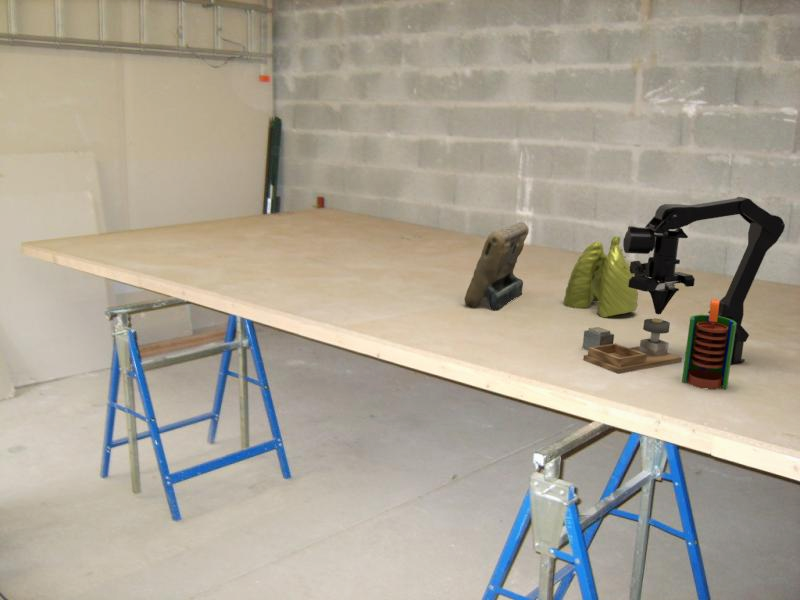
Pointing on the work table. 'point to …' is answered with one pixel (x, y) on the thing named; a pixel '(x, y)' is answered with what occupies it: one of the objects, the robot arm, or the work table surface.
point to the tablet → (498, 268)
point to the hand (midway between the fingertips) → (658, 314)
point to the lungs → (602, 281)
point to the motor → (709, 349)
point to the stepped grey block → (597, 337)
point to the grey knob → (656, 328)
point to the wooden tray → (631, 356)
